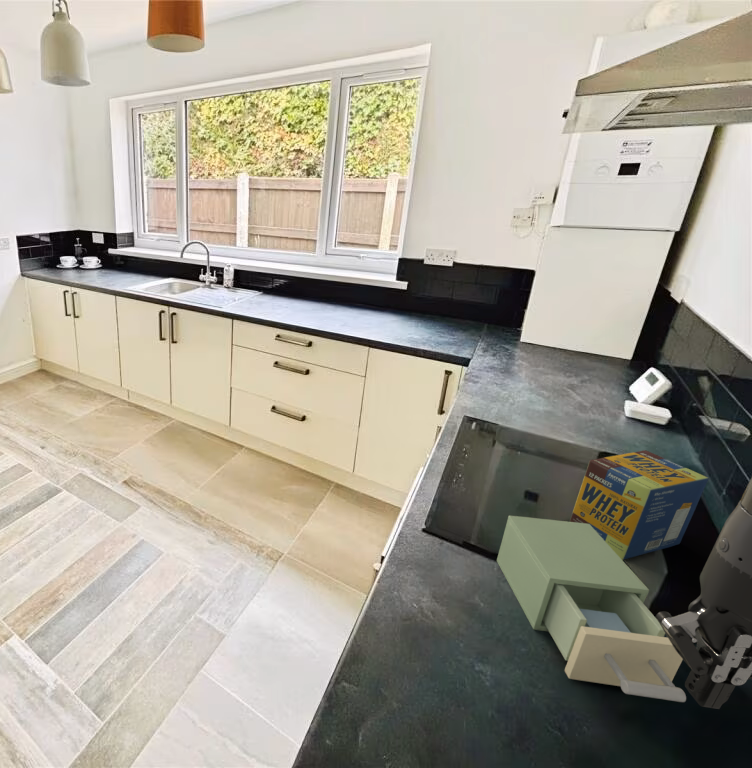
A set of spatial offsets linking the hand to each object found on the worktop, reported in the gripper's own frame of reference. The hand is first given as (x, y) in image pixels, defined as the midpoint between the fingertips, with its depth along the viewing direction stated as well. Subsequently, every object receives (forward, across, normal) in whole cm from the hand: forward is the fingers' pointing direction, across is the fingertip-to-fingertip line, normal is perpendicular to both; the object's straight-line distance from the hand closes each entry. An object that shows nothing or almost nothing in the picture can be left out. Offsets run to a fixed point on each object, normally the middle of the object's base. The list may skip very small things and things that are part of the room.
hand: (701, 699), depth 46 cm
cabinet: (+11, 0, +25) cm, 27 cm away
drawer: (+10, 0, +13) cm, 17 cm away
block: (+9, 0, +14) cm, 17 cm away
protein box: (+11, +20, +43) cm, 48 cm away
